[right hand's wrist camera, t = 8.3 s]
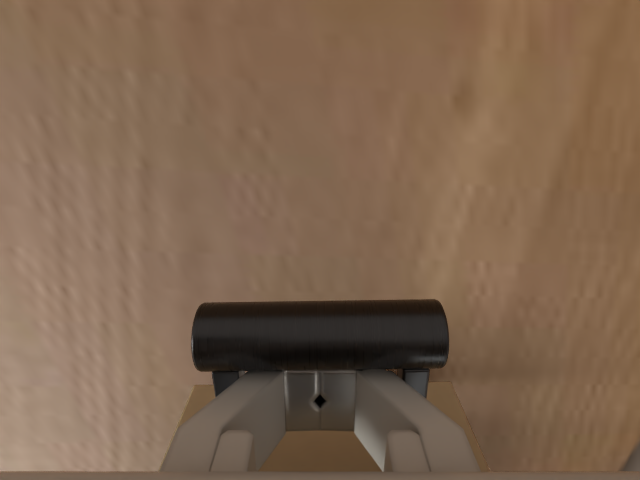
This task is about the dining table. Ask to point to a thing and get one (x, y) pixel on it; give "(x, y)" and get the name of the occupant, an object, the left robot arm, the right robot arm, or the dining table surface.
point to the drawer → (324, 362)
